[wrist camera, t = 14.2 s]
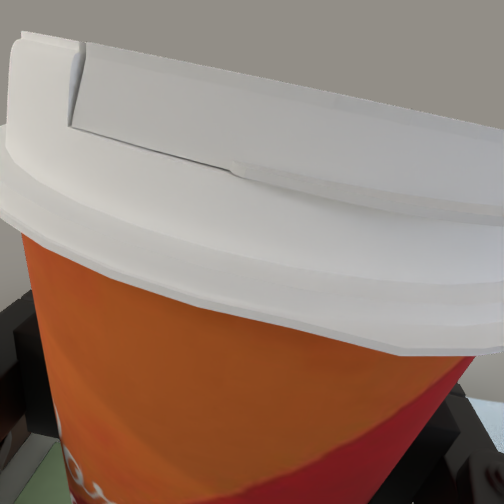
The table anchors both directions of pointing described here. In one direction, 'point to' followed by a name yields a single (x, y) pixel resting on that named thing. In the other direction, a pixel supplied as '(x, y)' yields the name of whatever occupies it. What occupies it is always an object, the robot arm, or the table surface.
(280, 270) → the coffee cup
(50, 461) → the mat
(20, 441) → the crate
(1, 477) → the table surface
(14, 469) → the table surface
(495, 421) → the table surface
